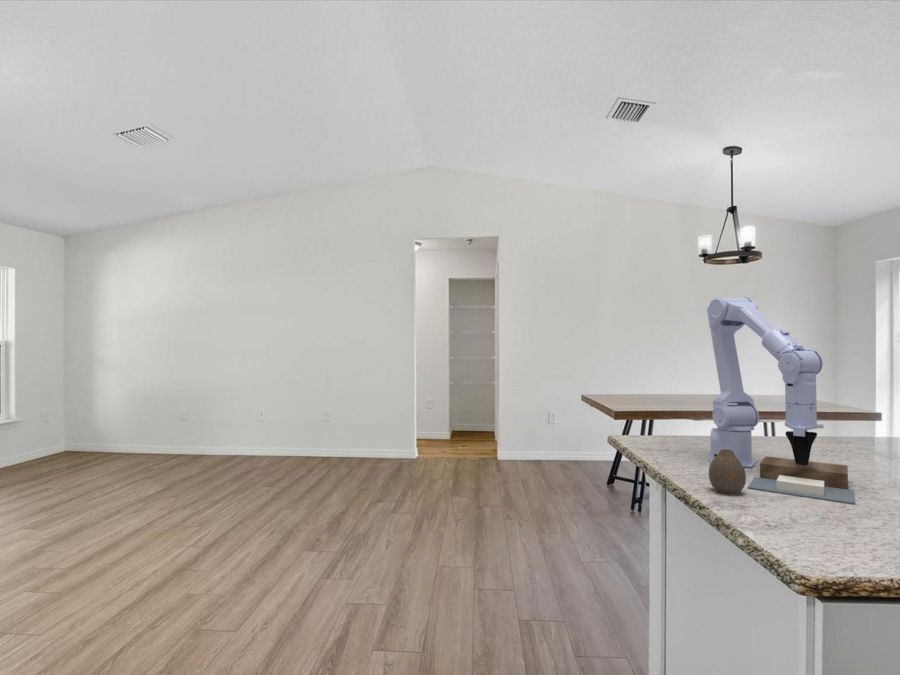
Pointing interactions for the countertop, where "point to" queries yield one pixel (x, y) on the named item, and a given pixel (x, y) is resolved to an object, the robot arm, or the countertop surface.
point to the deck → (805, 471)
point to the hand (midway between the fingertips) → (801, 464)
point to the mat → (829, 493)
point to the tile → (800, 485)
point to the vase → (727, 473)
